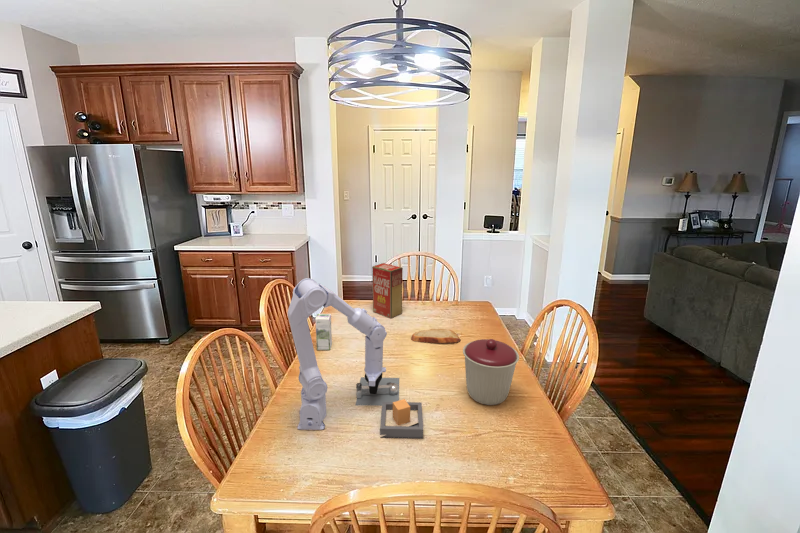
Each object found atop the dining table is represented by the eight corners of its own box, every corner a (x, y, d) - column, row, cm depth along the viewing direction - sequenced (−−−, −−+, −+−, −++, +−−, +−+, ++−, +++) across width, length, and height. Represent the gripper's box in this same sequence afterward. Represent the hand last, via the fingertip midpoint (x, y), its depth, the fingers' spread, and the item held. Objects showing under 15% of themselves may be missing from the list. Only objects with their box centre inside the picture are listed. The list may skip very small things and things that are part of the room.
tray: (423, 438, 110) (423, 429, 109) (380, 438, 110) (380, 428, 109) (421, 411, 122) (421, 402, 121) (382, 410, 122) (382, 401, 121)
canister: (493, 376, 141) (498, 324, 135) (525, 405, 125) (532, 348, 119) (450, 386, 135) (453, 332, 129) (478, 418, 119) (483, 358, 113)
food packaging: (371, 312, 198) (371, 265, 191) (384, 306, 205) (384, 262, 198) (391, 319, 190) (391, 271, 183) (403, 313, 197) (403, 267, 190)
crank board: (398, 409, 123) (398, 402, 122) (355, 408, 123) (355, 401, 122) (399, 380, 138) (399, 374, 137) (360, 380, 138) (360, 374, 137)
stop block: (404, 415, 119) (404, 399, 117) (409, 423, 115) (410, 406, 113) (392, 419, 117) (392, 402, 115) (397, 427, 113) (398, 410, 112)
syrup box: (332, 344, 164) (331, 312, 160) (330, 350, 158) (329, 318, 154) (319, 344, 164) (317, 312, 160) (316, 350, 158) (314, 318, 154)
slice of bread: (407, 339, 170) (407, 331, 169) (434, 327, 182) (434, 320, 181) (437, 354, 158) (438, 346, 157) (464, 340, 170) (464, 332, 168)
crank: (397, 387, 131) (397, 378, 130) (398, 396, 127) (398, 387, 126) (356, 389, 130) (356, 380, 129) (356, 398, 125) (356, 388, 124)
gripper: (385, 368, 116) (384, 407, 120) (387, 346, 130) (386, 381, 134) (362, 367, 116) (361, 406, 120) (366, 345, 130) (366, 380, 134)
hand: (373, 393), depth 127 cm, fingers closed, pressing on crank
